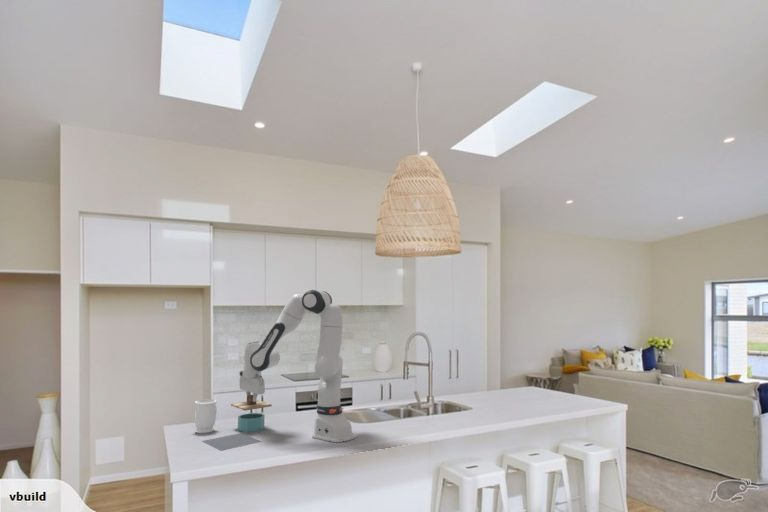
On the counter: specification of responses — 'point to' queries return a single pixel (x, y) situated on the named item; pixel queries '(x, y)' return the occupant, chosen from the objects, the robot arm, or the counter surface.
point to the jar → (205, 415)
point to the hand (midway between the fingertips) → (251, 400)
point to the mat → (231, 441)
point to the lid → (250, 404)
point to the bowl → (251, 422)
